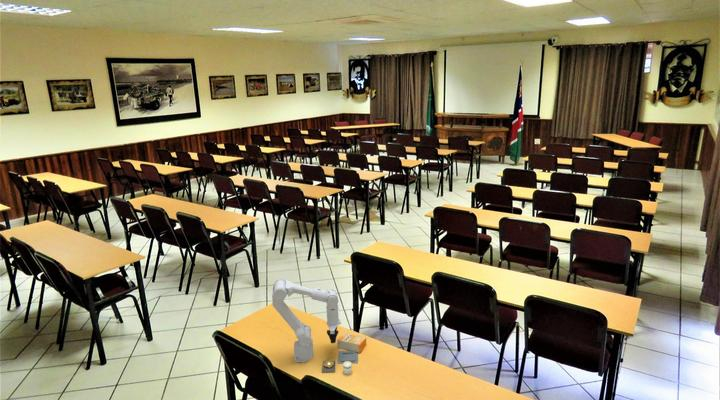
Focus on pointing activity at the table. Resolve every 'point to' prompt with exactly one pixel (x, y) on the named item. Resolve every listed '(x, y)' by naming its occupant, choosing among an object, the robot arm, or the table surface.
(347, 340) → the supplement box
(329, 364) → the plunger
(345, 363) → the cylinder
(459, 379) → the table surface
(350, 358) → the filter base
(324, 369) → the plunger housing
